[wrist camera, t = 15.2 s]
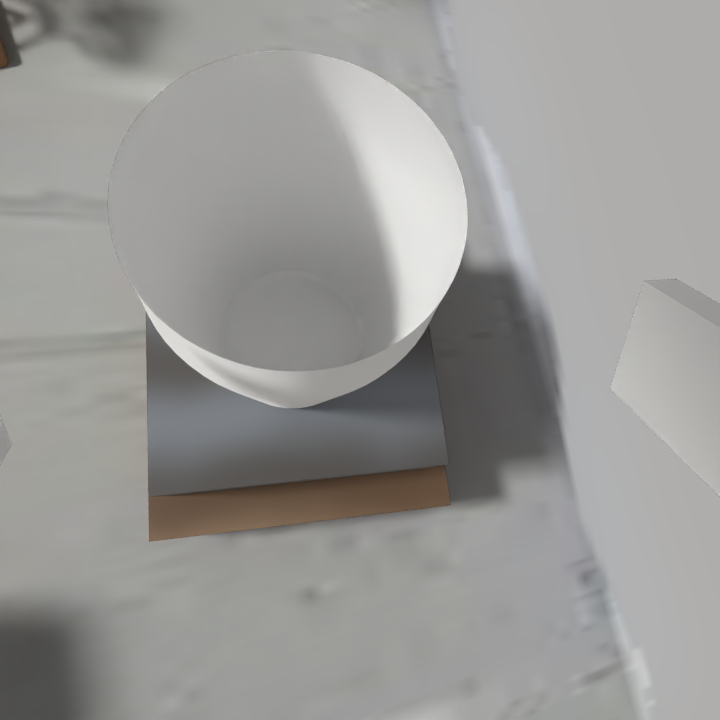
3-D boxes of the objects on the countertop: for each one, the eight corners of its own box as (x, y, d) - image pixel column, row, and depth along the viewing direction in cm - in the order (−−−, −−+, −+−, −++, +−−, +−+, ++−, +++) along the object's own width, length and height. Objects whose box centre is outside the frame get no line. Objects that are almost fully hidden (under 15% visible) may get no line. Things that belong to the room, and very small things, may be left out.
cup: (187, 253, 25) (98, 43, 13) (376, 243, 26) (445, 45, 15) (196, 446, 23) (100, 398, 11) (401, 425, 24) (504, 361, 12)
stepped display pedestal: (161, 251, 33) (122, 177, 25) (395, 241, 35) (425, 171, 27) (168, 535, 29) (123, 550, 21) (430, 503, 31) (477, 507, 24)
